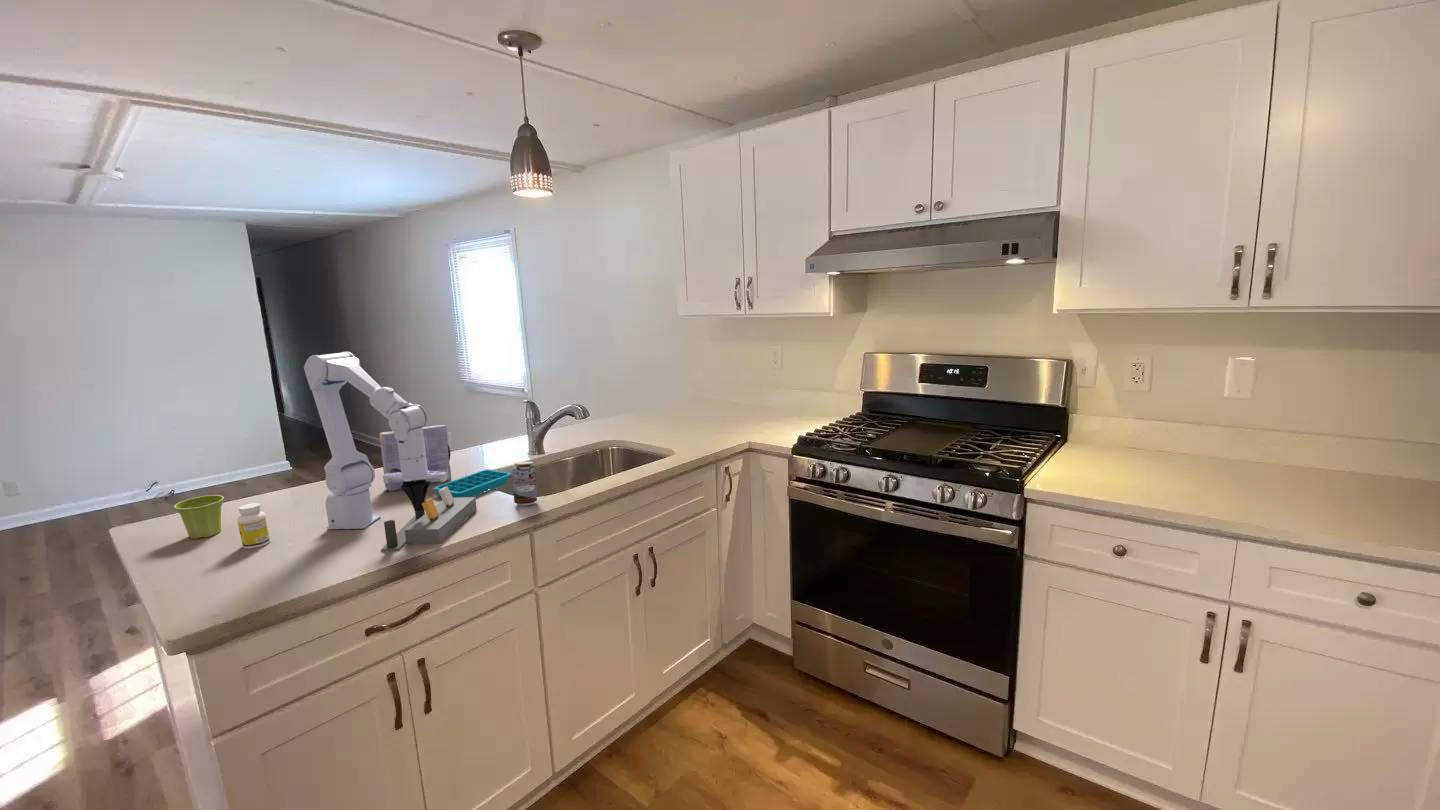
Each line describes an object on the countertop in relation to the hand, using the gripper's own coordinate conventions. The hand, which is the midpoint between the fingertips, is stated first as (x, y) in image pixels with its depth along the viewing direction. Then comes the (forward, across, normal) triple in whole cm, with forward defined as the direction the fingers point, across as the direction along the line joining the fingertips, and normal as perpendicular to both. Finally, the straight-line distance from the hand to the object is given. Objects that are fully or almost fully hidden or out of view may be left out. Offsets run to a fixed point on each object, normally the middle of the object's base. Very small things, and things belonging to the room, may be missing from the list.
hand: (419, 509), depth 147 cm
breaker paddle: (+2, +3, 0) cm, 4 cm away
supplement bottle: (+6, -37, -5) cm, 38 cm away
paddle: (+2, +3, +9) cm, 10 cm away
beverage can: (+6, +20, +19) cm, 28 cm away
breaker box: (+6, +3, +4) cm, 8 cm away
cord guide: (+6, -4, 0) cm, 7 cm away
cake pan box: (+6, -19, +39) cm, 44 cm away
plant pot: (+6, -55, +2) cm, 55 cm away
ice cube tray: (+7, 0, +33) cm, 34 cm away
